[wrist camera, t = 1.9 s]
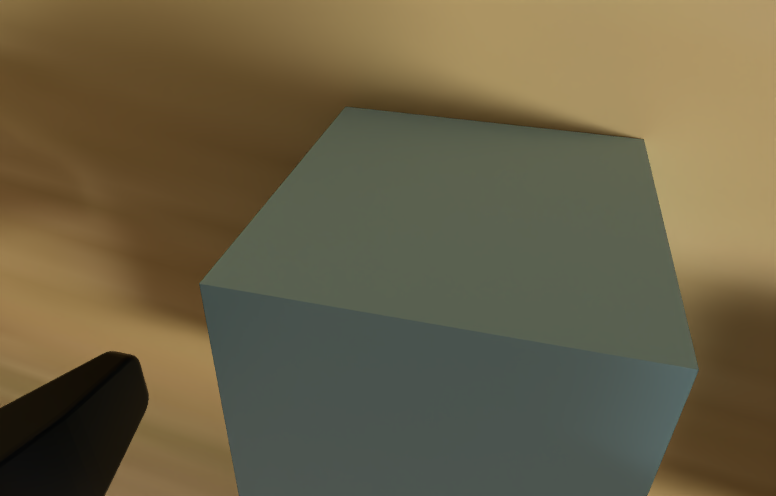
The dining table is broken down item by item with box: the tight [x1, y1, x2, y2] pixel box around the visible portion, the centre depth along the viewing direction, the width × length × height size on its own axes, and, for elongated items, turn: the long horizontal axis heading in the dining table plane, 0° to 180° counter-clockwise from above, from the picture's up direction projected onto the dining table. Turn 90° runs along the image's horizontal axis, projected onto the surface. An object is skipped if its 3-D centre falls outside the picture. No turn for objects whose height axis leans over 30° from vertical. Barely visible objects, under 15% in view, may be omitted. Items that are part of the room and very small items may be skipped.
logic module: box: [199, 107, 699, 496], centre depth 9 cm, size 6×5×5 cm
